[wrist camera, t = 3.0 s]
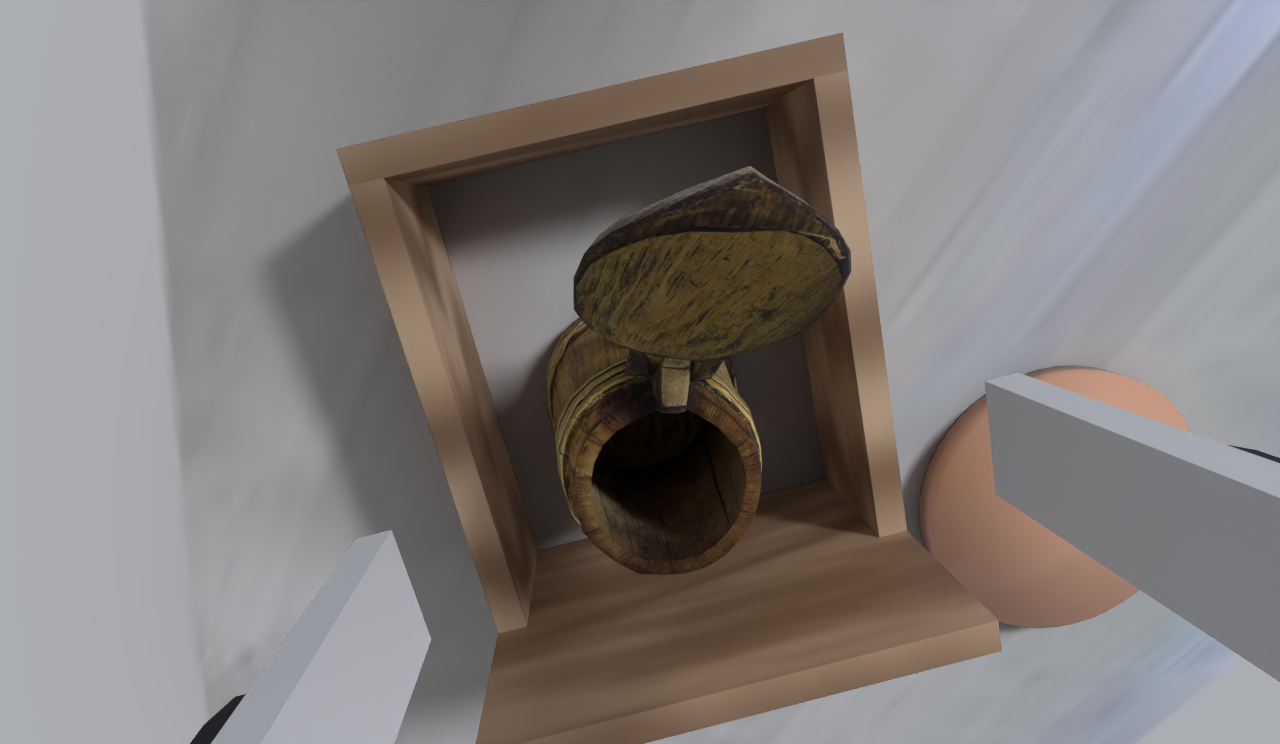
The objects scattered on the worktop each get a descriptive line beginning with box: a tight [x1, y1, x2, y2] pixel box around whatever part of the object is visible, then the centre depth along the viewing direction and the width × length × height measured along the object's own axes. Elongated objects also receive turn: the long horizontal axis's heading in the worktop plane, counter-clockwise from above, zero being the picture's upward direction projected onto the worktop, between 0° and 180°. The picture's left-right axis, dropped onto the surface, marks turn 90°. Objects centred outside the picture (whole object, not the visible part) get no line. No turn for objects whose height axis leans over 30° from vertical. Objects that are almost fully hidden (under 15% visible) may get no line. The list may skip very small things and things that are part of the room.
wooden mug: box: [546, 166, 851, 575], centre depth 21 cm, size 9×14×18 cm, turn 177°
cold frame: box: [336, 33, 1001, 744], centre depth 24 cm, size 20×17×12 cm
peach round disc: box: [919, 366, 1191, 628], centre depth 33 cm, size 14×14×2 cm
